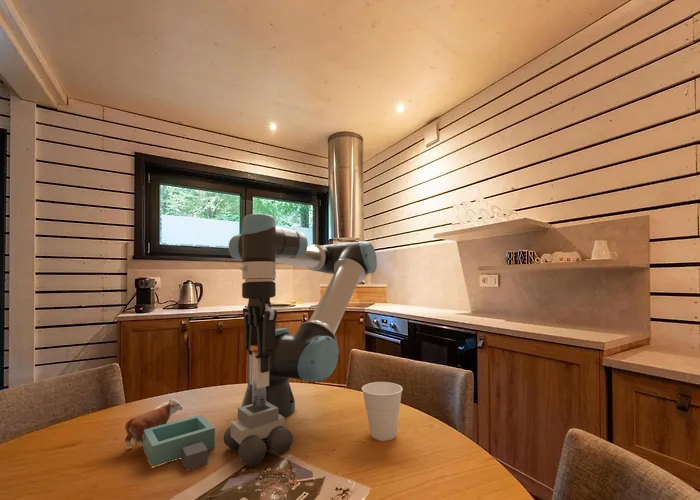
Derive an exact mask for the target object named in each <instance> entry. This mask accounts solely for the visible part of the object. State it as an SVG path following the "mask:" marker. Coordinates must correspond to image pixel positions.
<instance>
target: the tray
mask: <svg viewBox="0 0 700 500" xmlns="http://www.w3.org/2000/svg"><path fill="white" fill-rule="evenodd" d="M215 432H216V428H215V426H213V424H212V423H210V422H209V421H208V419H206V418H205V417H204V416H203V415H202V414H198V415H195V416H194V415H193V416H190V417H186V418H183V419H179V420H175V421H170V422H167V424H163V425H159V426H156V427H152V428H148V429H144V430H143V448H144V451H145V453H146V455H147V458H148V460H149V462H150V464H151V467H152V466H156V465H159V464H162V463H165V462H169V461H172V460H175V459H179V458H182V448H183V447H186V446H190V445H193V444H196V443H200V442H203V443H204V445H205V446H206V447H207V449H208V451H209V450H211V449H215V448H216V447H215V443H216V442H215V440H216V433H215ZM143 448H142V449H143ZM144 451H143V452H144ZM145 453H144V454H145ZM147 458H146V459H147ZM148 460H147V461H148ZM179 460H180V459H179ZM149 462H148V463H149ZM150 464H149V465H150ZM151 467H150V468H151Z"/></svg>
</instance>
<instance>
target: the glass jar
mask: <svg viewBox="0 0 700 500" xmlns="http://www.w3.org/2000/svg"><path fill="white" fill-rule="evenodd" d="M251 351H252V405H253V406H256V407H258V406H263V405H265V404H266V387H262V388H256V358H255V356H256V355H258V344H253V345H251Z"/></svg>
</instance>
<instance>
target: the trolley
mask: <svg viewBox="0 0 700 500" xmlns="http://www.w3.org/2000/svg"><path fill="white" fill-rule="evenodd" d="M285 418H286V417H283V416H282V415H280V414H278V408H277V407H276V406H274V405H272V404H270V403H269V402H267V401H266V404H265V405H263V406H258V407H256V406H253V405H252V404H250V405H246V406H243V407H241V406H239V407H237V419H236V420H233V421H230V425H229V426H228V427H227V428H226V430H225V431H224V433H223V442H224V444H225V446H226V447H228V449H229V450H231V451H234V452H235V451H236V452H237V455H238V458H239V460H241V462H242V463H243V464H244V465H246V466H247V467H254V466H255V467H256V466H257V465H258V464H260V462H262V461H263V459H264V457H265V455H266V452H267V451H266V450H267V448H268V449H269V450H270V451H271V452H273V453H274V454H275V455H277V456H281V455H282V456H283V455H284V454H286V453H288V452H289V450H290V449H291V448H292V445H293V440H294V436H293V432H291V431H290V430H289V429H287V428H285V427H286V426H285V425H286V424H285V423H286V422H285V421H286V420H285ZM265 441H266V443H265Z"/></svg>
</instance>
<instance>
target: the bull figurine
mask: <svg viewBox="0 0 700 500" xmlns="http://www.w3.org/2000/svg"><path fill="white" fill-rule="evenodd" d="M183 407H184V406H183V405H182V404H181V403H180V402H179V401H178V400H176V398H173V399H169V401H167V402H166V401H165V402H162V403H161V404H159V406H158V405H157V406H156V407H154V408H153V409H151V410H150V411H148V412H144V413H141V414H139V415H136V416H134V417H131V418H130V419H129V420H128V421H127V422H126V424H125V431H126V437H125V438H124V441H125V445H126V446H125V448H126V447H130V446H132V445H131V440H132V443H133V445H134V446H138V444H140V447H141V446H143V430H144V429H148V428H152V427H156V426H159V425H163V424H167V423H168V422H169V419H170V418H171V417H172V415H174V414H175V413H176V412H177V411H182V410H183Z"/></svg>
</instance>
